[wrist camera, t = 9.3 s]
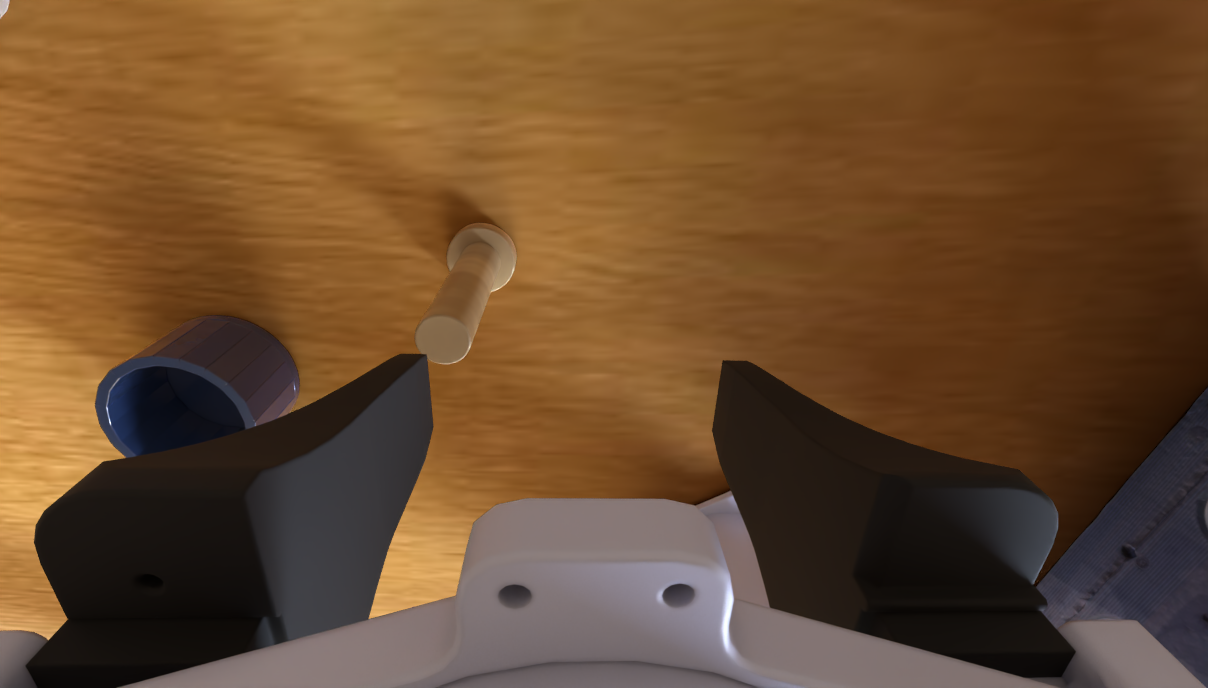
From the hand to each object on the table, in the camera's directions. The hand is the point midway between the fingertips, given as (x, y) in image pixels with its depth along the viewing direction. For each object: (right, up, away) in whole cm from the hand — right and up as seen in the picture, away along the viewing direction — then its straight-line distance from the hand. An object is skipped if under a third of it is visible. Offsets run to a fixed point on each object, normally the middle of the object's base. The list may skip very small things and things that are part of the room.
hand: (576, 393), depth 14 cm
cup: (-15, 0, +10) cm, 18 cm away
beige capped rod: (-4, +5, +9) cm, 11 cm away
